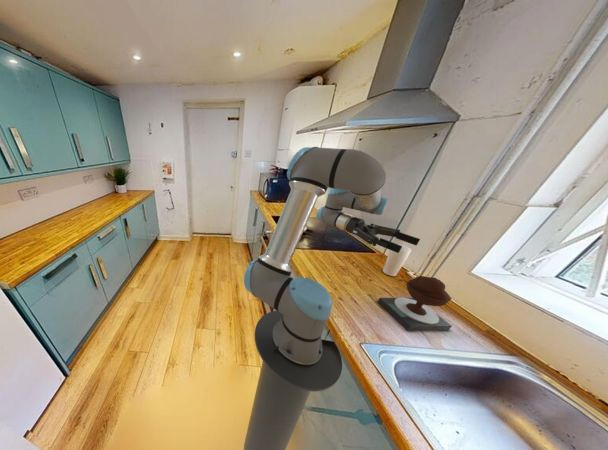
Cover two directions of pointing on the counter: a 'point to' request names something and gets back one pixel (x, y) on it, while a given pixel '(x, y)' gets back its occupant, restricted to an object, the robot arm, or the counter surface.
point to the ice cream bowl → (426, 293)
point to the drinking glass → (396, 261)
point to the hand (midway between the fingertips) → (409, 245)
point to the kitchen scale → (413, 315)
